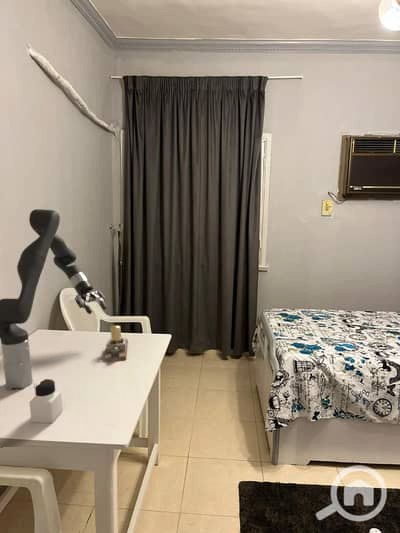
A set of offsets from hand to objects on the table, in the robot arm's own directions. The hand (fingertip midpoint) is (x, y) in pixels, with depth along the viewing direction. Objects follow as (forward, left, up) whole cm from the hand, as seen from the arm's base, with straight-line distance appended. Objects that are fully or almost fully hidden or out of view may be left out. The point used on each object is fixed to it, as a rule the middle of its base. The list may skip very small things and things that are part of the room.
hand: (98, 310), depth 180 cm
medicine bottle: (-60, +11, -17) cm, 64 cm away
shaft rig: (-8, -8, -17) cm, 21 cm away
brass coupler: (-8, -8, -16) cm, 19 cm away
